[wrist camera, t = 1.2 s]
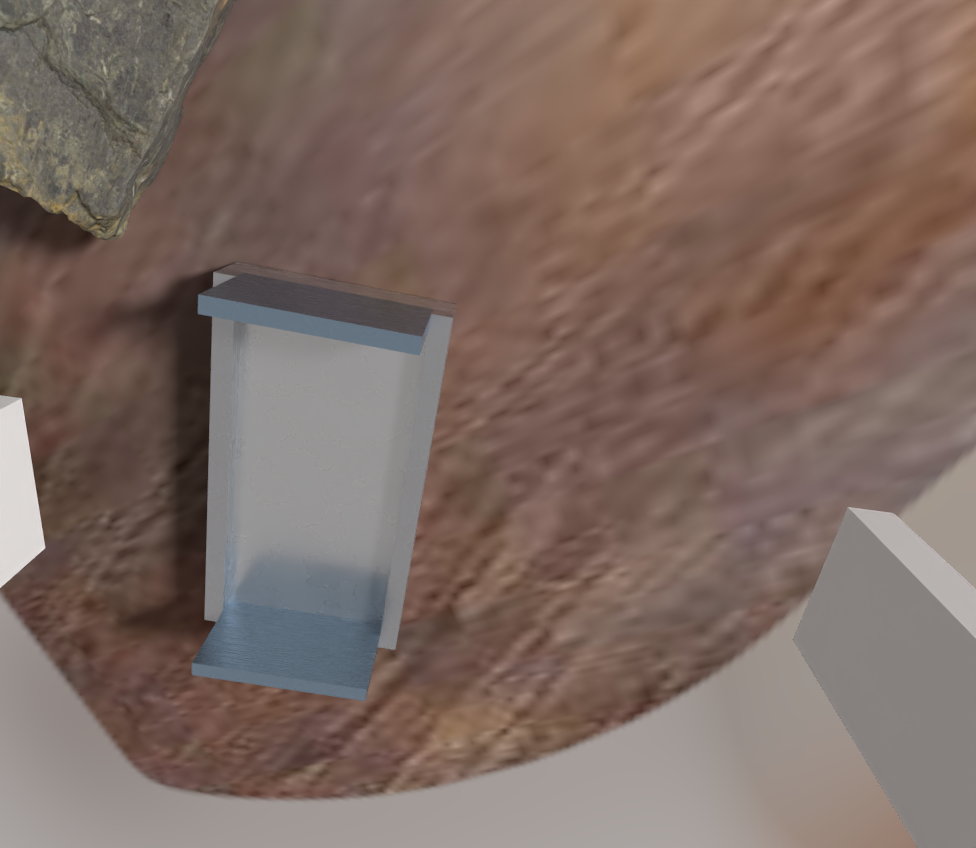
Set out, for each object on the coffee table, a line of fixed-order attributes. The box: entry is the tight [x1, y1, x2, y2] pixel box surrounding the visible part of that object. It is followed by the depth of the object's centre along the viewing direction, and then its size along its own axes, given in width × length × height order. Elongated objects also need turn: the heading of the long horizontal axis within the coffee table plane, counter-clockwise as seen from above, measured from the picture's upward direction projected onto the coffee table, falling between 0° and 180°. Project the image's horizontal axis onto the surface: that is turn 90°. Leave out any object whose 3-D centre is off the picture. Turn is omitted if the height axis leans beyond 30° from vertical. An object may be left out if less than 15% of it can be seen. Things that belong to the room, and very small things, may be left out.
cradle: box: [192, 262, 456, 701], centre depth 33 cm, size 20×11×7 cm, turn 169°
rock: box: [0, 0, 235, 241], centre depth 26 cm, size 17×7×10 cm
